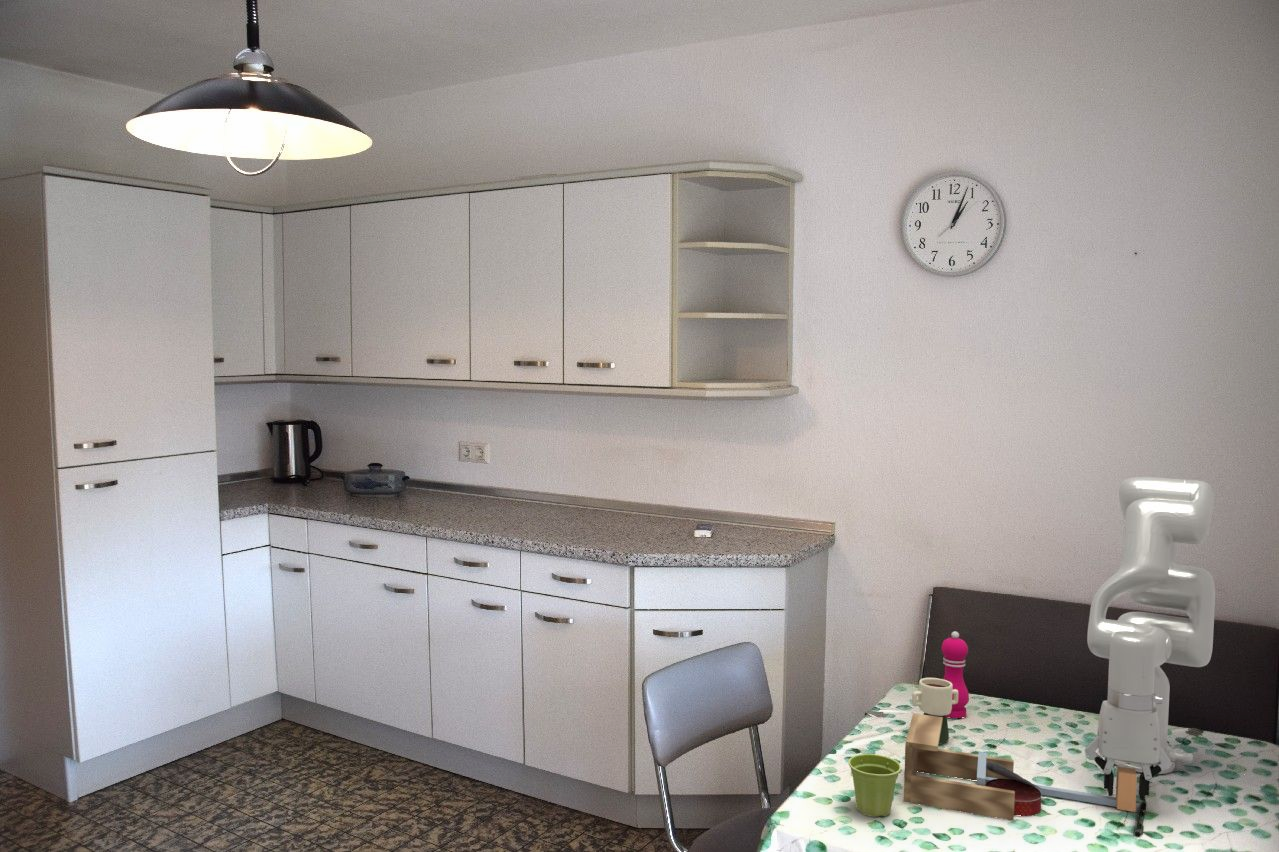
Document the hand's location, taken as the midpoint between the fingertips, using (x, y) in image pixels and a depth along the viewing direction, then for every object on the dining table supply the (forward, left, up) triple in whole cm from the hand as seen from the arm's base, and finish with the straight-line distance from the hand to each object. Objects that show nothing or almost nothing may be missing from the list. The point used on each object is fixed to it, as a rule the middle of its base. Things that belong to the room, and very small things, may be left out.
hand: (1125, 794), depth 175 cm
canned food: (+20, +7, -3) cm, 21 cm away
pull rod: (+12, +5, -2) cm, 14 cm away
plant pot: (+44, +20, -3) cm, 48 cm away
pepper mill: (+32, -39, -3) cm, 51 cm away
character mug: (+36, -20, -3) cm, 41 cm away
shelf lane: (+28, +6, -3) cm, 29 cm away
